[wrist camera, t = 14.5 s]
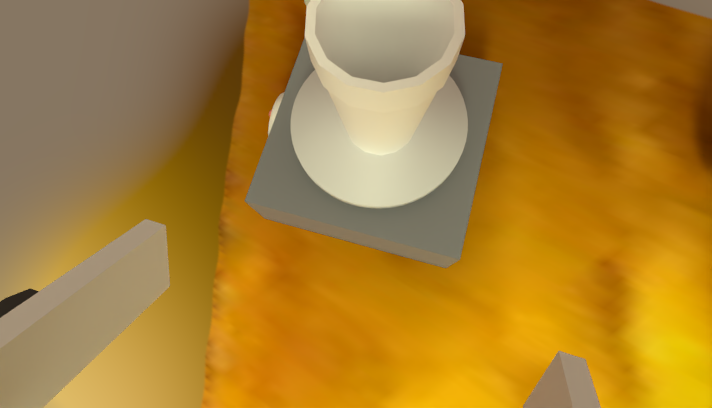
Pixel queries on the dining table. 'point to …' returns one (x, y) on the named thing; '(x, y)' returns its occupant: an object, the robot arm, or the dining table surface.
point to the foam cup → (383, 62)
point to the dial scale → (378, 167)
